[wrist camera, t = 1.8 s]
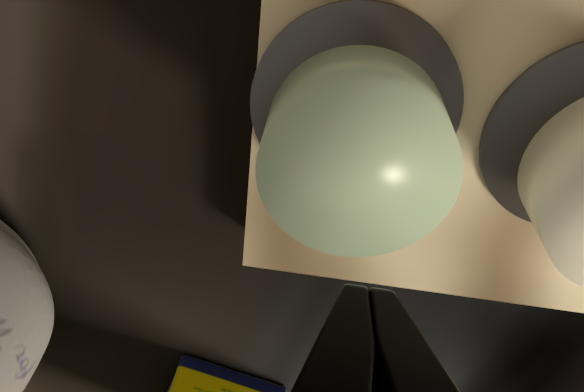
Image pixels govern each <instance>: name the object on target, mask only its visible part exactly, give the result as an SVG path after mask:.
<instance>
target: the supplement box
mask: <svg viewBox="0 0 584 392" xmlns="http://www.w3.org/2000/svg"><path fill="white" fill-rule="evenodd" d="M167 392H287V389H286V388H285V387H283V386H279V385H277V384H274V383H271V382H268V381H265V380H262V379H259V378H255V377H252V376H249V375H246V374H243V373H240V372H236V371H233V370H230V369H228V368H225V367H222V366H219V365H216V364H212V363H209V362H206V361H203V360H200V359H197V358H194V357H191V356H188V355H183V356H181V358H180V361H179V364H178V367H177V370H176V373H175V376H174V378H173V380H172V383H171V385H170V387H169V389H168V391H167Z"/></svg>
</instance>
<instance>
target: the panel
mask: <svg viewBox="0 0 584 392" xmlns="http://www.w3.org/2000/svg"><path fill="white" fill-rule="evenodd" d="M347 45H372V46H377V47H382V48H386V49H389V50H392V51H395V52H398V53H400V54H402V55H404V56H406V57H407V58H409V59H411V60H412V61H413V62H415V63H416V64H418V65H419V66H420V67H421V68H422V69H423V70H424V71H425V72H426V73H427V74H428V75H429V77H430V78H431V79H432V80H433V82H434V83H435V85H436V87H437V89H438V90H439V92H440V95H441V97H442V100H443V103H444V105H445V108H446V110H447V113H448V115H449V118H450V121H451V123H452V126H453V128H454V131H455V133H456V136H457V139H458V141H459V144H460V147H461V151H462V156H463V168H464V172H463V180H462V185H461V188H460V192H459V195H458V197H457V199H456V201H455V204H454V205H453V207H452V209H451V210H450V212H449V213H448V215H447V216H446V217H445V218H444V220H443V221H442V222H441V223H440V224H439V225H438V226H437V227H436V228H435V229H434V230H433V231H432V232H430V233H429V234H428V235H426V236H425V237H423V238H422V239H420V240H419V241H417V242H415V243H413V244H412V245H409V246H407V247H405V248H402V249H400V250H397V251H394V252H391V253H387V254H382V255H378V256H369V257H345V256H337V255H332V254H328V253H324V252H321V251H317V250H315V249H313V248H310V247H308V246H306V245H304V244H302V243H300V242H298V241H296V240H295V239H294V238H292V237H291V236H289V235H288V234H287V233H285V232H284V231H283V230H282V229H281V228H280V227H279V226H278V225H277V224H276V223H275V222H274V220H273V219H272V218H271V217H270V215H269V214H268V212H267V211H266V209H265V207H264V205H263V203H262V201H261V199H260V196H259V193H258V189H257V184H256V178H255V165H256V158H257V153H258V149H259V146H260V142H261V139H262V135H263V132H264V128H265V125H266V121H267V118H268V114H269V111H270V108H271V104H272V101H273V99H274V96H275V94H276V92H277V90H278V89H279V87H280V86H281V84H282V83H283V81H284V80H285V79H286V78H287V76H288V75H289V74H290V73H291V72H292V71H293V70H294V69H295V68H297V67H298V66H299V65H300V64H301V63H303V62H304V61H306V60H308V59H309V58H311V57H313V56H315V55H317V54H319V53H321V52H323V51H326V50H329V49H332V48H336V47H341V46H347ZM583 97H584V0H262V1H261V15H260V29H259V43H258V57H257V69H256V72H255V75H254V78H253V82H252V87H251V94H250V113H251V120H252V124H253V127H252V141H251V155H250V169H249V183H248V197H247V211H246V225H245V239H244V253H243V266H250V267H257V268H264V269H272V270H279V271H286V272H293V273H300V274H307V275H314V276H322V277H329V278H336V279H343V280H350V281H357V282H364V283H371V284H379V285H386V286H393V287H400V288H407V289H414V290H421V291H429V292H436V293H443V294H450V295H457V296H464V297H471V298H479V299H486V300H493V301H500V302H507V303H514V304H521V305H528V306H536V307H543V308H550V309H557V310H564V311H571V312H578V313H584V287H582V286H580V285H578V284H575V283H574V282H572V281H570V280H569V279H567V278H566V277H565V276H564V275H562V274H561V273H560V272H559V271H558V270H557V268H556V267H555V266H554V265H553V263H552V261H551V259H550V257H549V256H548V254H547V252H546V250H545V248H544V246H543V244H542V242H541V240H540V238H539V236H538V234H537V232H536V230H535V228H534V226H533V224H532V222H531V220H530V218H529V216H528V214H527V212H526V210H525V208H524V206H523V204H522V202H521V199H520V196H519V193H518V186H517V176H518V170H519V165H520V162H521V159H522V156H523V154H524V152H525V150H526V148H527V146H528V144H529V143H530V142H531V140H532V139H533V137H534V136H535V134H536V133H537V132H538V131H539V130H540V129H541V128H542V126H543V125H544V124H545V123H547V122H548V121H549V120H550V119H551V118H552V117H553V116H554V115H556V114H557V113H558V112H560V111H561V110H562V109H564V108H565V107H567V106H569V105H570V104H572V103H573V102H575V101H577V100H579V99H581V98H583Z"/></svg>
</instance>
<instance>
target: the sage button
mask: <svg viewBox="0 0 584 392" xmlns="http://www.w3.org/2000/svg"><path fill="white" fill-rule="evenodd" d="M463 172H464V168H463V156H462V151H461V147H460V144H459V141H458V139H457V136H456V133H455V131H454V128H453V126H452V123H451V121H450V118H449V115H448V113H447V110H446V108H445V105H444V103H443V100H442V97H441V95H440V92H439V90H438V89H437V87H436V85H435V83H434V82H433V80H432V79H431V78H430V77H429V75H428V74H427V73H426V72H425V71H424V70H423V69H422V68H421V67H420V66H419V65H418V64H416V63H415V62H413V61H412V60H411V59H409V58H407V57H406V56H404V55H402V54H400V53H398V52H395V51H392V50H389V49H386V48H382V47H377V46H372V45H347V46H341V47H336V48H332V49H329V50H326V51H323V52H321V53H319V54H317V55H315V56H313V57H311V58H309V59H308V60H306V61H304V62H303V63H301V64H300V65H299V66H298V67H297V68H295V69H294V70H293V71H292V72H291V73H290V74H289V75H288V76H287V78H286V79H285V80H284V81H283V83H282V84H281V86H280V87H279V89H278V90H277V92H276V94H275V96H274V99H273V101H272V104H271V108H270V111H269V114H268V118H267V121H266V125H265V128H264V132H263V135H262V139H261V142H260V146H259V149H258V153H257V158H256V165H255V178H256V184H257V189H258V193H259V196H260V199H261V201H262V203H263V205H264V207H265V209H266V211H267V212H268V214H269V215H270V217H271V218H272V219H273V220H274V222H275V223H276V224H277V225H278V226H279V227H280V228H281V229H282V230H283V231H284V232H285V233H287V234H288V235H289V236H291V237H292V238H294V239H295V240H296V241H298V242H300V243H302V244H304V245H306V246H308V247H310V248H313V249H315V250H317V251H321V252H324V253H328V254H332V255H337V256H345V257H369V256H378V255H382V254H387V253H391V252H394V251H397V250H400V249H402V248H405V247H407V246H409V245H412V244H413V243H415V242H417V241H419V240H420V239H422V238H423V237H425V236H426V235H428V234H429V233H430V232H432V231H433V230H434V229H435V228H436V227H437V226H438V225H439V224H440V223H441V222H442V221H443V220H444V218H445V217H446V216H447V215H448V213H449V212H450V210H451V209H452V207H453V205H454V204H455V201H456V199H457V197H458V195H459V192H460V188H461V185H462V180H463Z"/></svg>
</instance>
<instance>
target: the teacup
mask: <svg viewBox="0 0 584 392" xmlns="http://www.w3.org/2000/svg"><path fill="white" fill-rule="evenodd" d="M53 325H54V303H53V298H52V294H51V291H50V288H49V285H48V283H47V281H46V278H45V276H44V274H43V273H42V271H41V269H40V267H39V265H38V262H37V260H36V259H35V257H34V255H33V254H32V252H31V250H30V249H29V248H28V246H27V245H26V244H25V242H24V241H23V240H22V239H21V238H20V236H19V235H18V234H17V233H16V232H15V231H14V230H12V229H11V228H10V227H9V226H8V225H7V224H5V223H4V222H3V221H1V220H0V392H23V390H24V389H25V387H26V386H27V384H28V382H29V380H30V379H31V377H32V375H33V373H34V371H35V370H36V368H37V366H38V364H39V362H40V360H41V358H42V356H43V354H44V352H45V350H46V348H47V345H48V343H49V340H50V337H51V334H52V330H53Z"/></svg>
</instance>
